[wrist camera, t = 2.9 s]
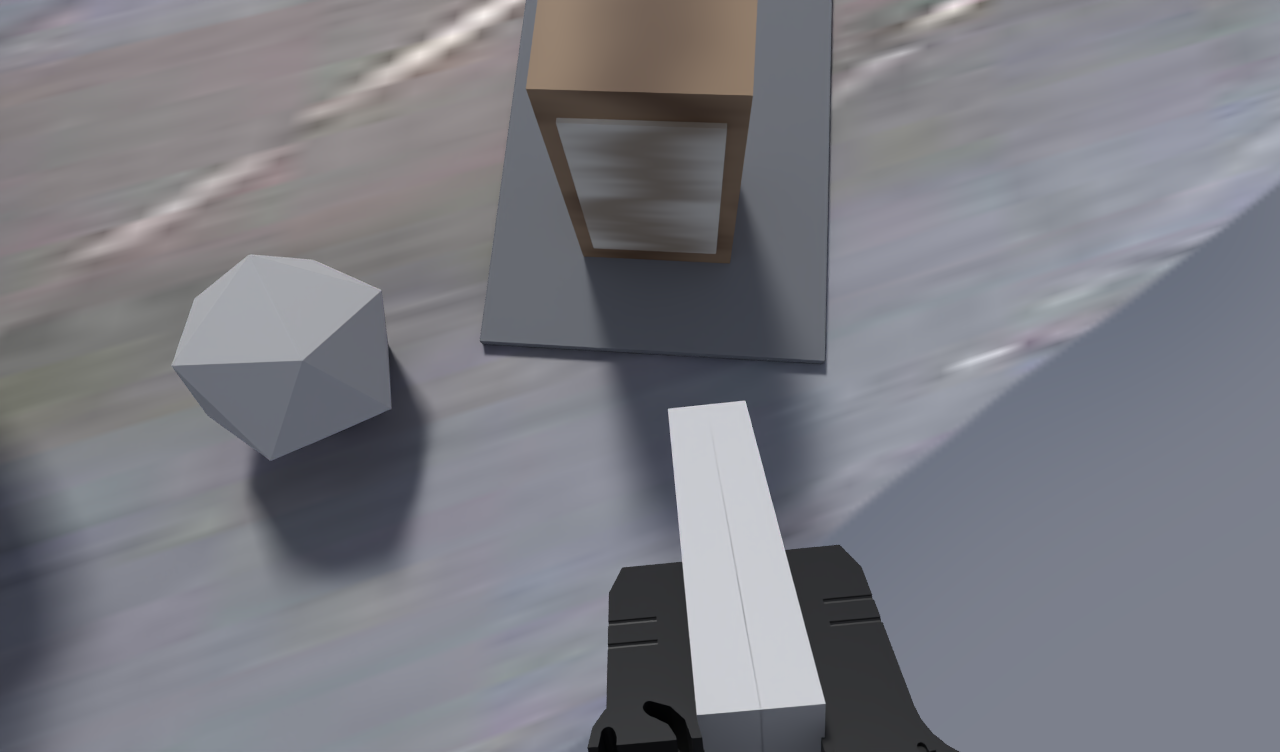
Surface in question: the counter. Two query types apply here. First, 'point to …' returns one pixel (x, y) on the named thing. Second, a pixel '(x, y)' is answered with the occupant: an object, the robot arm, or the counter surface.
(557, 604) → the counter surface
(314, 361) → the die
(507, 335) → the mat
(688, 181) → the label block
